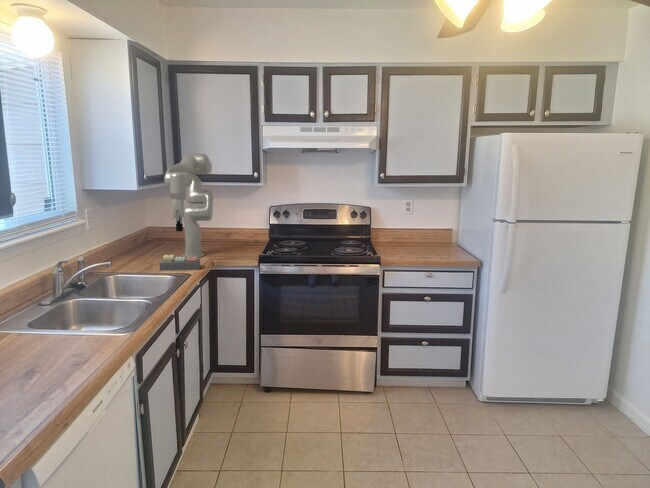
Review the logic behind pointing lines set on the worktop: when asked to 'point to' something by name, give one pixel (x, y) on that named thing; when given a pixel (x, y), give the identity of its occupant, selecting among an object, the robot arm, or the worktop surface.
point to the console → (179, 265)
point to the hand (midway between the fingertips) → (179, 231)
